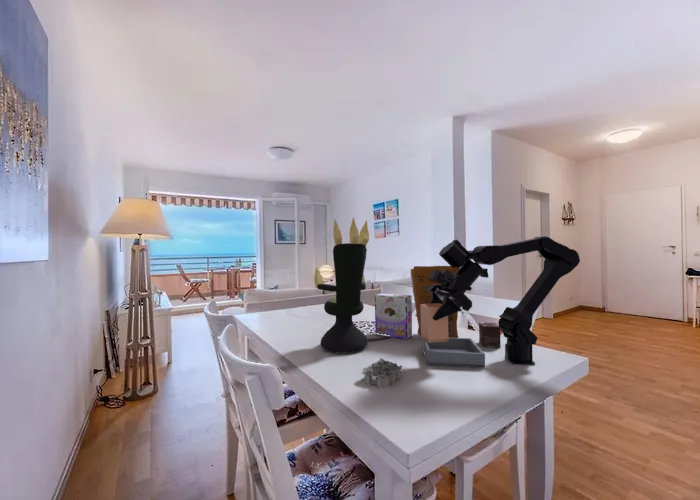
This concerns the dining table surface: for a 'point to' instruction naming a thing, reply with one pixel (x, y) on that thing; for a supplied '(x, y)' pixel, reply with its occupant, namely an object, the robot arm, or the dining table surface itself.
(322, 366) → the dining table surface
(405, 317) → the candy box
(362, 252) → the candelabra
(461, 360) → the grey square tray
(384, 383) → the grey jagged ring
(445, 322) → the orange square container
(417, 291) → the pancake mix bag
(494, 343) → the box
